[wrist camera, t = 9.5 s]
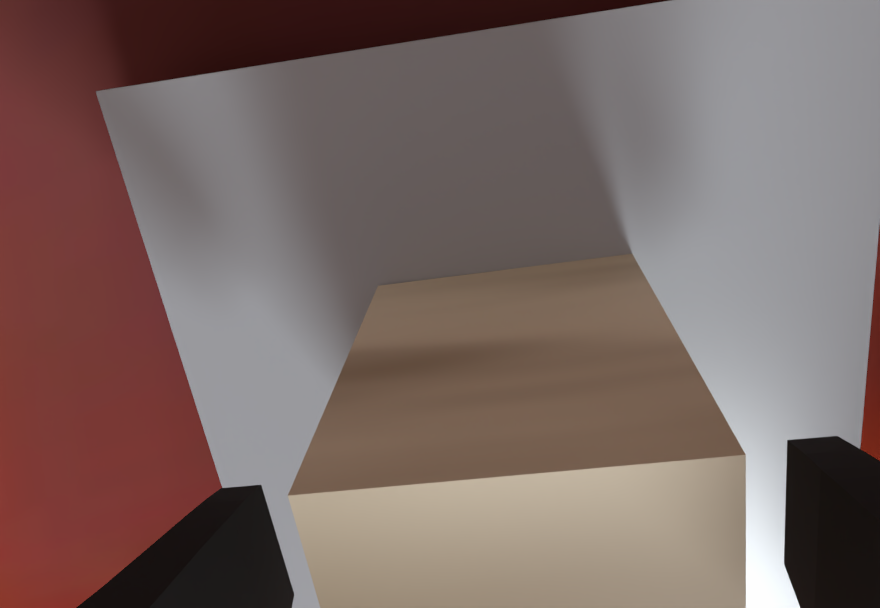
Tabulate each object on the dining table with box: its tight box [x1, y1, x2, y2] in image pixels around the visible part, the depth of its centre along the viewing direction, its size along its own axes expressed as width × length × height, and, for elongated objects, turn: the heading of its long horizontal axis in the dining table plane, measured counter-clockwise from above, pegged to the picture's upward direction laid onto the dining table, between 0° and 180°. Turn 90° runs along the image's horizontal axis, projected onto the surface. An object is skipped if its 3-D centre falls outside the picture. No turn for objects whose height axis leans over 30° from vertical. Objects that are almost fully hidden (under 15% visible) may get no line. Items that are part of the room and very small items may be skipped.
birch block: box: [288, 254, 746, 608], centre depth 11 cm, size 4×4×6 cm
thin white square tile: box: [96, 0, 880, 608], centre depth 15 cm, size 13×13×2 cm
